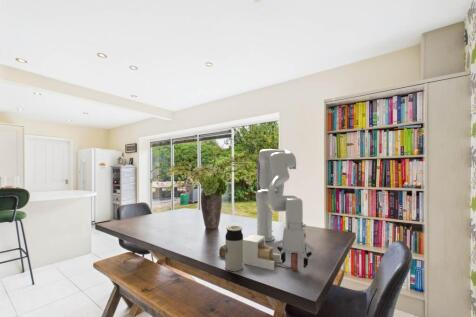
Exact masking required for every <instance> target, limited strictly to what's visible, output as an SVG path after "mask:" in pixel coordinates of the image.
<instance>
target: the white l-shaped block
mask: <svg viewBox="0 0 476 317" xmlns="http://www.w3.org/2000/svg"><path fill="white" fill-rule="evenodd" d="M258 245H262V246H266V241H265V236H259V235H257V234H254V233H253V234H250V235H248V236H247V237H246V238H243V265H245V264H246V265H249V266H252V267H253V266H254V267H257V268H262V269H266V270H270V271H274V270H275V265H274V263H278V264H280V263H282V260H281V253H274V252H273V261H271V260H266V259H261V258H258Z"/></svg>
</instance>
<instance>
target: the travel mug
mask: <svg viewBox="0 0 476 317" xmlns="http://www.w3.org/2000/svg"><path fill="white" fill-rule="evenodd" d="M225 229H226V233H225V244H224V245H225V257H224V260H225V264H224V265H225V267H224V268H225V269H226V270H227V271H230V272H238V271H240V270H242V269H243V268H244V263H243V240H244V234H243V232H242V230H243V227H242V226H240V225H229V226H226V228H225Z"/></svg>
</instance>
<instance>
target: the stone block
mask: <svg viewBox="0 0 476 317" xmlns="http://www.w3.org/2000/svg"><path fill="white" fill-rule="evenodd" d="M218 250H219V252H218V253H219V257H222V258H225V244H223V245H221V246H220V247H219V249H218Z"/></svg>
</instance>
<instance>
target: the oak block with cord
mask: <svg viewBox="0 0 476 317" xmlns="http://www.w3.org/2000/svg"><path fill="white" fill-rule="evenodd" d="M273 253H274V247H272V246H267V245H265V246H262V245H258V258H261V259H266V260H271V261H273ZM298 256H299V253H296V252H290V265H285V264H284V265H283V264H280V263H276V262H274V267H282V268H286V269H290V270H291V271H293V272H297V271H298V270H299V268H298V267H299V262H298V261H299V260H298V259H299V257H298Z"/></svg>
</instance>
